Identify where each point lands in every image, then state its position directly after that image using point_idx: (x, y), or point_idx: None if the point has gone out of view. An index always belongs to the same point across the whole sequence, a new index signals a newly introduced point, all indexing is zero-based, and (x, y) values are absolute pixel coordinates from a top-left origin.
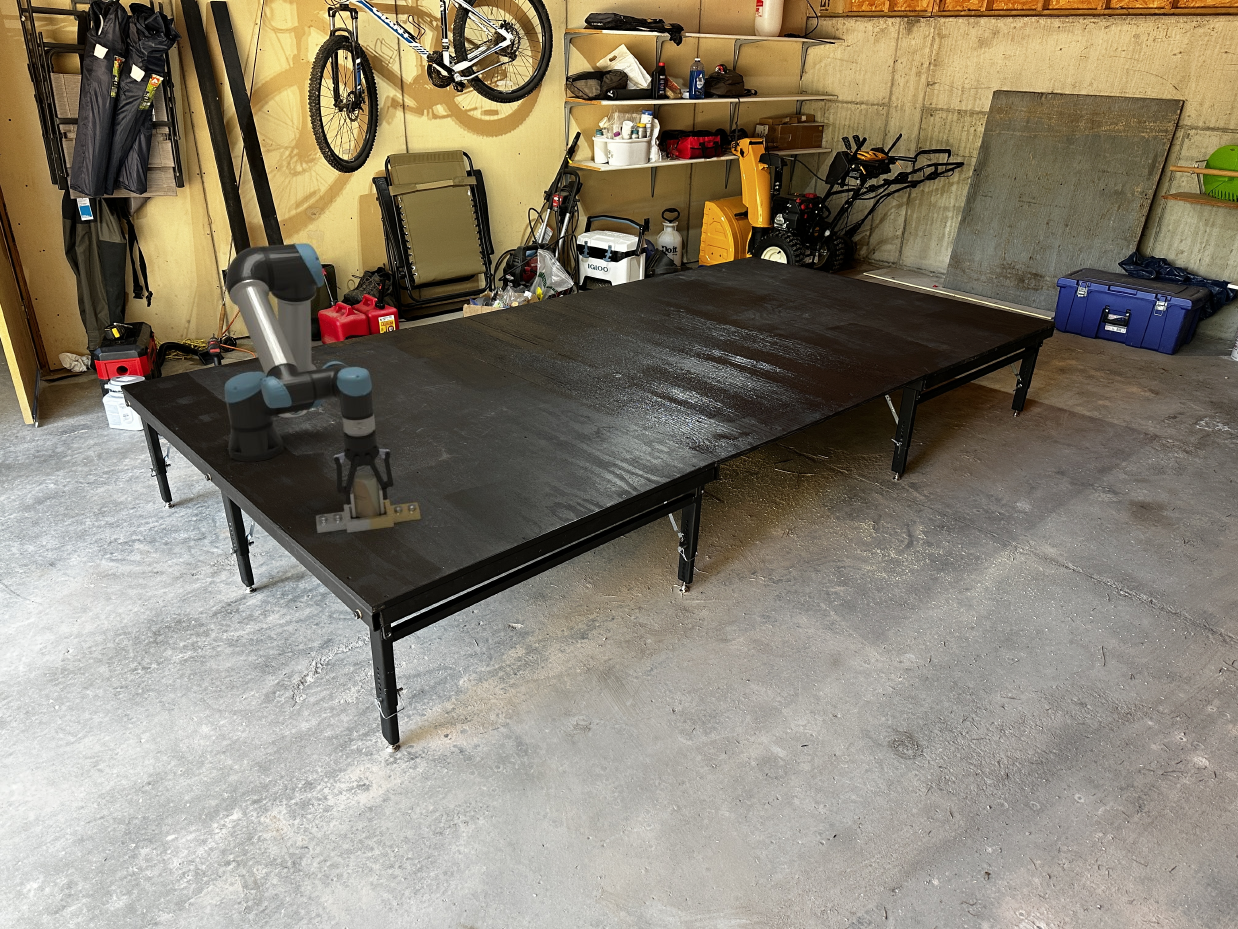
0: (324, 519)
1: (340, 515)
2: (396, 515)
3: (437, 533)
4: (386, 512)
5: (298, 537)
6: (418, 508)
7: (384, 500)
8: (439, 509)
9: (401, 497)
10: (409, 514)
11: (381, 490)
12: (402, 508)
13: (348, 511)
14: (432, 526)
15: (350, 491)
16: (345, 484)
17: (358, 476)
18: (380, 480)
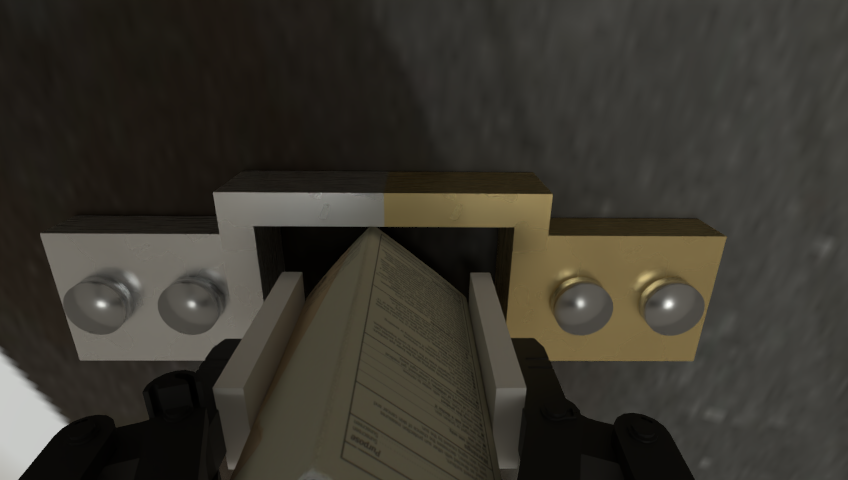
0: (109, 333)
1: (207, 314)
2: (551, 360)
3: (694, 469)
4: (501, 296)
5: (14, 347)
6: (702, 315)
7: (517, 204)
8: (814, 257)
9: (653, 11)
10: (627, 358)
11: (512, 460)
12: (608, 313)
13: (255, 293)
14: (698, 411)
15: (225, 419)
16: (142, 453)
17: None
18: None
